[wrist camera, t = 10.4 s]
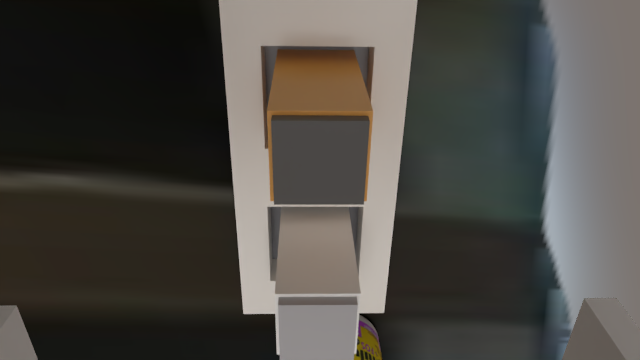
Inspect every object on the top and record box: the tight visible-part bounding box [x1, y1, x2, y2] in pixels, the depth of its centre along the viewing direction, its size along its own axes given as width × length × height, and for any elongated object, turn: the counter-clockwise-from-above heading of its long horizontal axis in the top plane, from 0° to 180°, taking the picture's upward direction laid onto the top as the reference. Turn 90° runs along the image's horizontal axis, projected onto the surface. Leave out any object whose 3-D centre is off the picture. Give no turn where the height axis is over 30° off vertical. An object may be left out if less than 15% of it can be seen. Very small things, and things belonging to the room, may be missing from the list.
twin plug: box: [275, 207, 361, 360], centre depth 31 cm, size 4×4×10 cm
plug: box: [267, 49, 373, 205], centre depth 26 cm, size 4×4×10 cm
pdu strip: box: [219, 0, 417, 314], centre depth 32 cm, size 22×10×3 cm, turn 179°
